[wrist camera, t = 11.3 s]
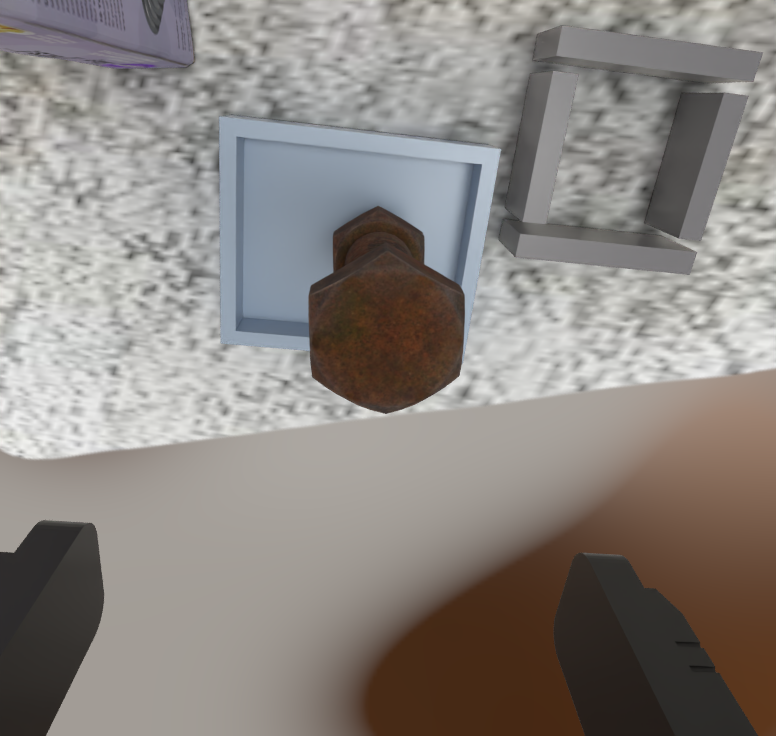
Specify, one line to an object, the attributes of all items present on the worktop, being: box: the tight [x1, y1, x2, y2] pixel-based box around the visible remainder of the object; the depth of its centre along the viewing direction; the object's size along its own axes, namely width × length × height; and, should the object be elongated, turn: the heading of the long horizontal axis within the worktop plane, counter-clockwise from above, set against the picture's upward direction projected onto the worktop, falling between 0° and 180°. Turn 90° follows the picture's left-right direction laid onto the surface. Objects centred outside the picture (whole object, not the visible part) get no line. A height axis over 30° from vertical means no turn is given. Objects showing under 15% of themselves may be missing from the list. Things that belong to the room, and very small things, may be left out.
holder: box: [499, 25, 763, 275], centre depth 30 cm, size 9×10×4 cm
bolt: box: [308, 206, 465, 414], centre depth 26 cm, size 6×5×15 cm
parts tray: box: [219, 115, 501, 364], centre depth 32 cm, size 14×12×3 cm
